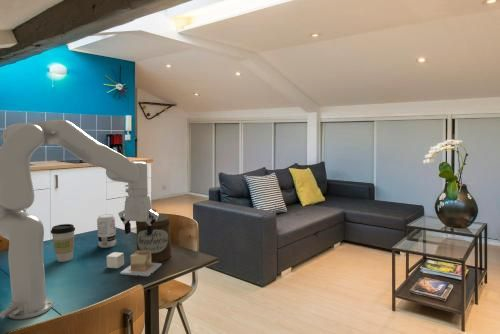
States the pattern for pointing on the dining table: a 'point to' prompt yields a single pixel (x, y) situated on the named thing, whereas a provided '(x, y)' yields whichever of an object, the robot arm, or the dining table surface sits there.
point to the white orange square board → (140, 272)
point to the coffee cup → (63, 241)
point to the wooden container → (155, 238)
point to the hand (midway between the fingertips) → (138, 233)
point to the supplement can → (106, 231)
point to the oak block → (141, 260)
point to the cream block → (115, 260)
